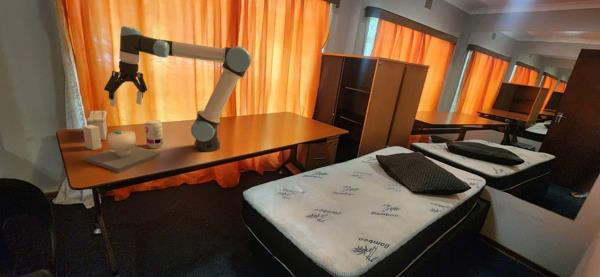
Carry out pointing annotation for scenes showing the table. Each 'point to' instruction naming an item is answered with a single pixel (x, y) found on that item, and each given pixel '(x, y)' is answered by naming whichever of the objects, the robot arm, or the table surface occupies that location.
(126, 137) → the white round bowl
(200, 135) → the robot arm
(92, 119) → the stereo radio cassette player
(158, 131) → the supplement can
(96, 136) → the skincare box
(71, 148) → the table surface
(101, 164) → the base
